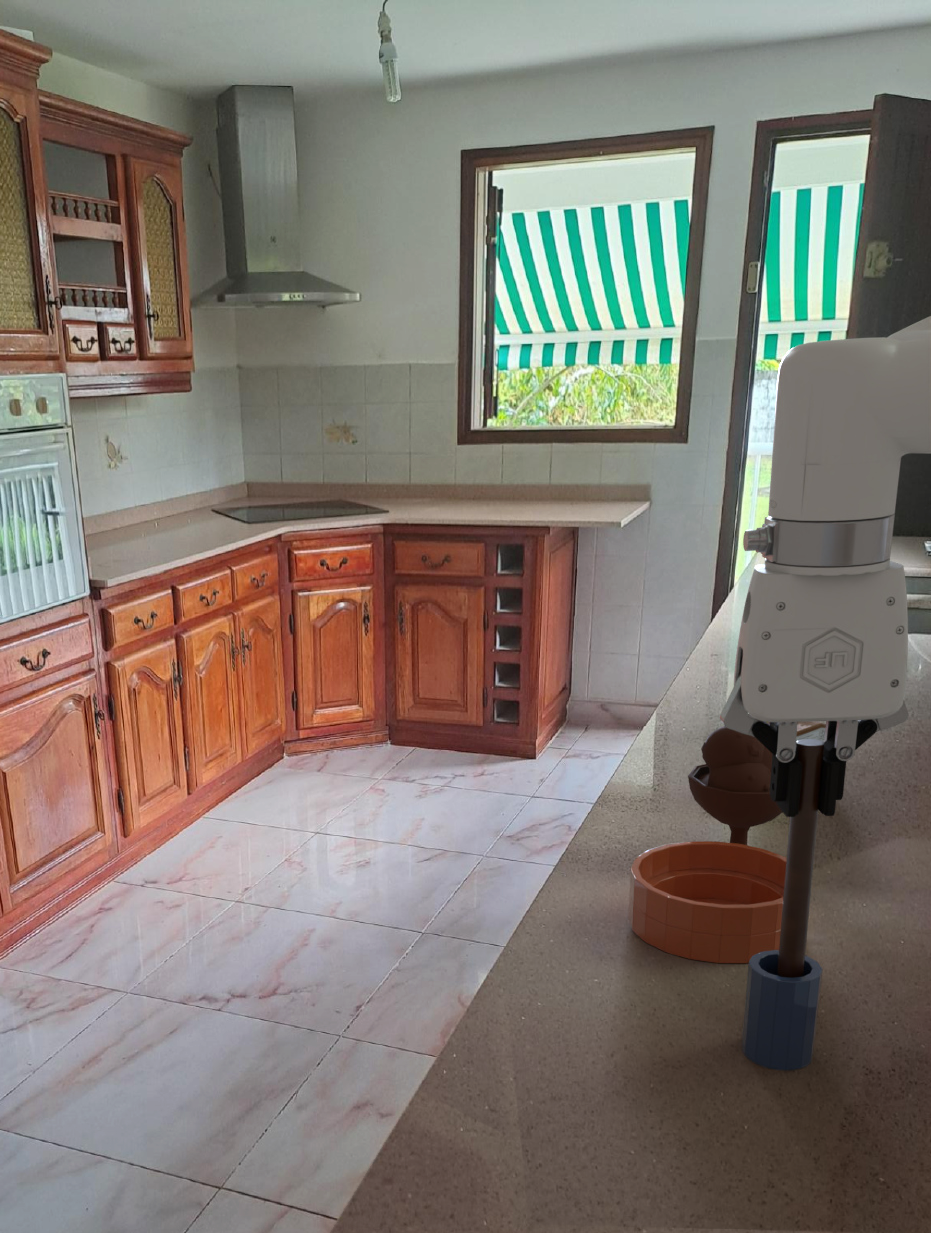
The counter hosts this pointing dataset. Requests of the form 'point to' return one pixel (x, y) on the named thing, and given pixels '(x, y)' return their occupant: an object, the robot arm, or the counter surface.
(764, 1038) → the utensil pot
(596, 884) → the counter surface
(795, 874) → the stirring stick
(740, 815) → the ice cream bowl
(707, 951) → the mixing bowl
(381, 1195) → the counter surface
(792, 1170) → the counter surface
